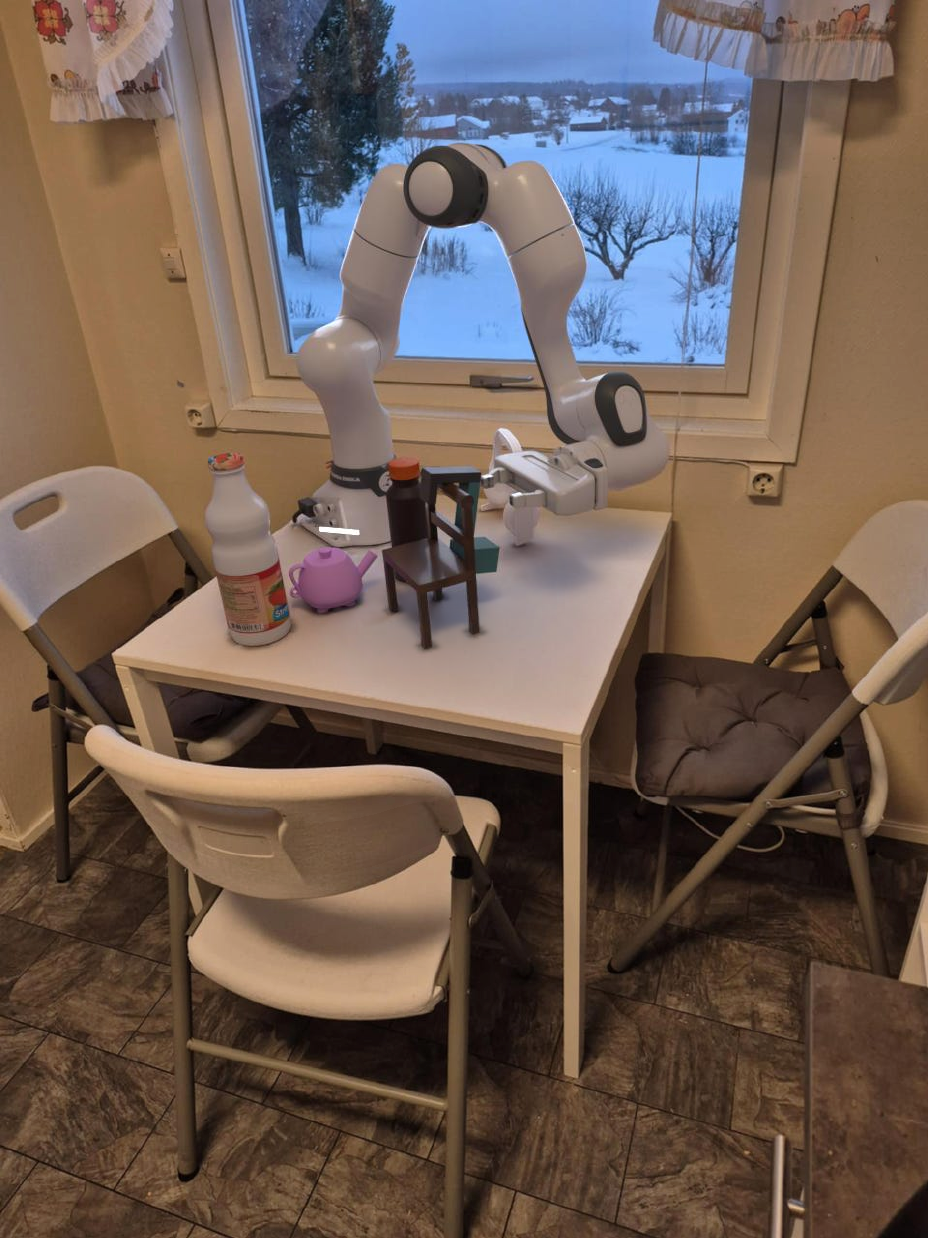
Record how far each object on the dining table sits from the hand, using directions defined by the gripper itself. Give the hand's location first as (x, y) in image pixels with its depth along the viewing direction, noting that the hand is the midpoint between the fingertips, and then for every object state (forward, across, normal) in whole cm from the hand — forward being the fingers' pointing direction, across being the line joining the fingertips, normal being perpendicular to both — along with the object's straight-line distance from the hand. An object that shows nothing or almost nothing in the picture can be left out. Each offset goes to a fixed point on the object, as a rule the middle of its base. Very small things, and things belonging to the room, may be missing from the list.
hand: (496, 492), depth 127 cm
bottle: (+8, -16, +18) cm, 26 cm away
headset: (-16, -25, +18) cm, 35 cm away
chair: (+12, 0, +18) cm, 22 cm away
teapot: (+22, -15, +18) cm, 33 cm away
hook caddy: (+7, 0, +11) cm, 13 cm away
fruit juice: (+36, -11, +18) cm, 42 cm away
